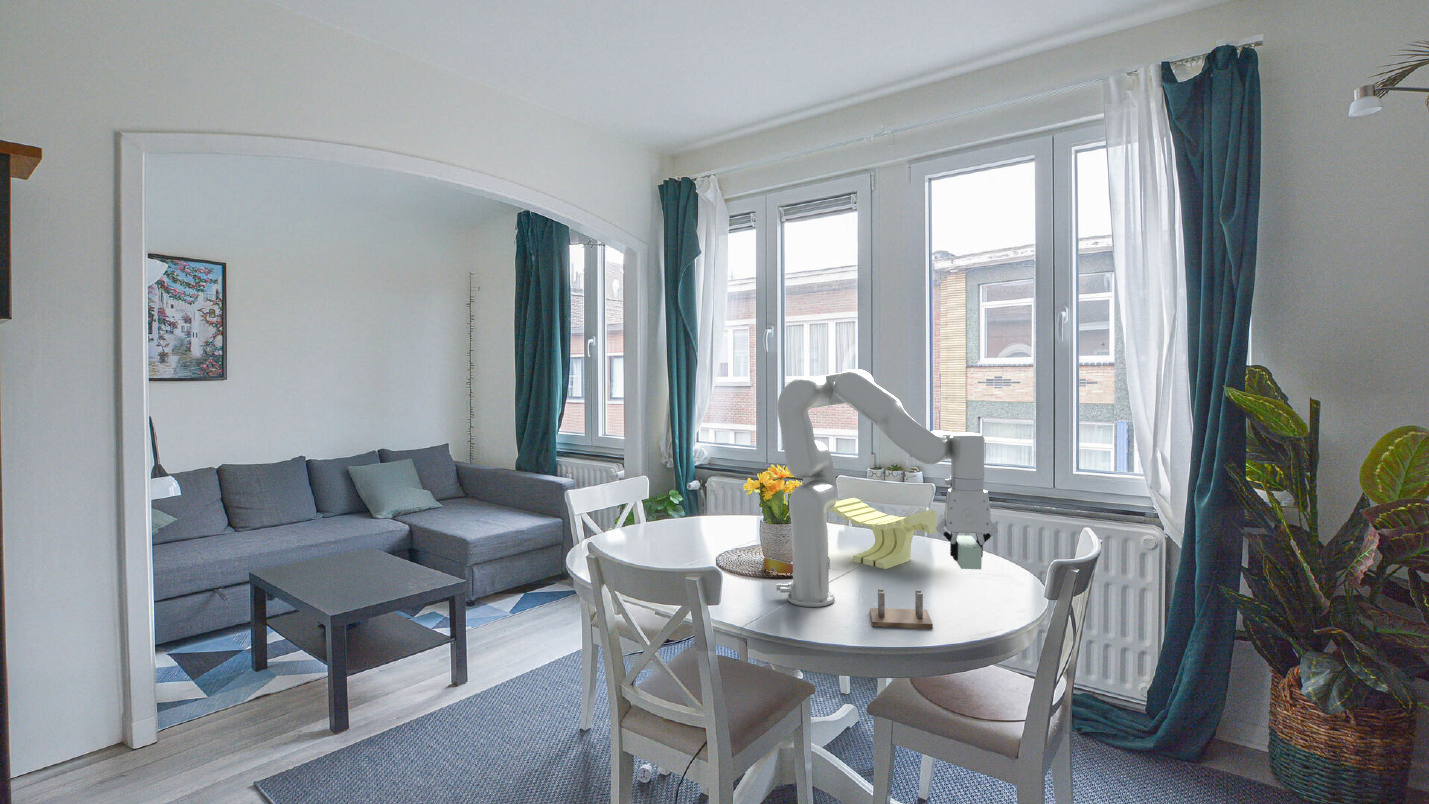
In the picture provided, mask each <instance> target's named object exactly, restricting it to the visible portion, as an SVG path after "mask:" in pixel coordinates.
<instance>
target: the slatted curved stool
mask: <svg viewBox="0 0 1429 804" xmlns="http://www.w3.org/2000/svg"><path fill="white" fill-rule="evenodd" d="M829 512H831V513H836V516H838V517H843V520H844V521H849V522H850V525H857V526H862V527H868V528H871V530H872V533H873V535H874V544H873V545H872V546H871V547H870V548H869V549H867V550H865V551H863V552H861V553H859V554H855V555H853V556H852V559H851V561H850V562H854V563H859V564H863V565H866V566H869V567H875V568H878V569H879V568H880V569H883V570H886V569H890V568H893V567H895V566H899V565H901V564H903V563H907V562H909V561H910V560H911V555H912V554H911V551H912V548H911V547H912V542H913V541H912V540H913V537H914V534H915V531H920V532H922V531H924V533H927V534H930V535H931V534H934V533H939V532H938V531H937V530H936V526H937V525H938V524H939V522H938V514H937V511H936V510H934V509H929V510H925V511H921V512H917V513H914V514H910V515H908V516H902V517H901V516H896V515H889V514H887V513H884V512H883V511H882V512H881V511H879V510H877V509H875V508H874V507H872V506H871V507H870V505H869V504H867V503H865V502H863V501H862V499H858V498H857V497H850V498H846V499H842V500H841V499H840V500H837V502H836V504H835V506H834V507H833V508H832V509H831V510H829Z"/></svg>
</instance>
